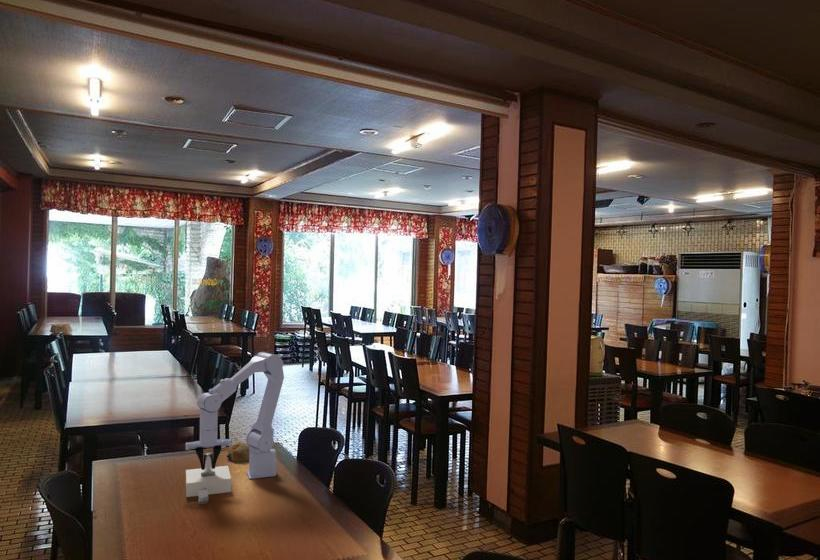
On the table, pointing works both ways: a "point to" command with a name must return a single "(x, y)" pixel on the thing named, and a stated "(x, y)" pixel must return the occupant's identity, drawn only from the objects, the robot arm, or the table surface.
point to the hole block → (208, 481)
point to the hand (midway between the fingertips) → (208, 468)
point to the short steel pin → (203, 495)
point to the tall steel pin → (208, 464)
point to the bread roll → (239, 452)
